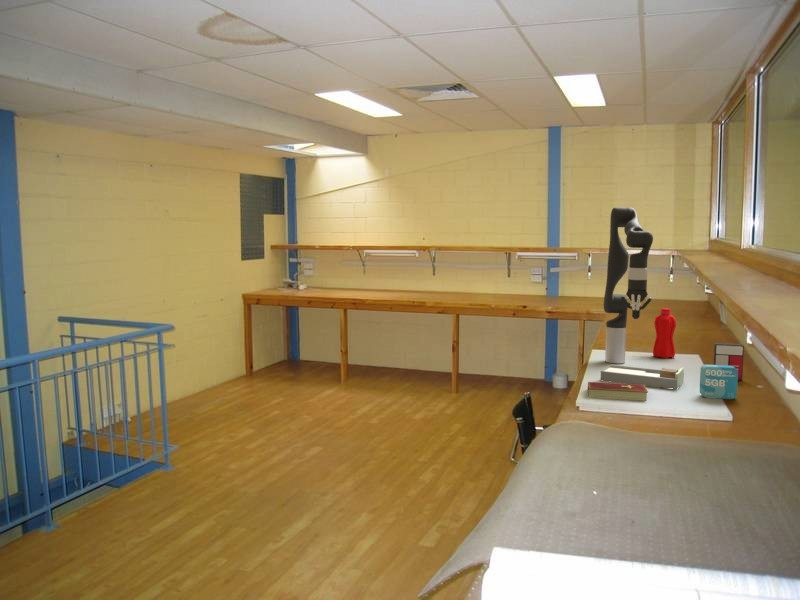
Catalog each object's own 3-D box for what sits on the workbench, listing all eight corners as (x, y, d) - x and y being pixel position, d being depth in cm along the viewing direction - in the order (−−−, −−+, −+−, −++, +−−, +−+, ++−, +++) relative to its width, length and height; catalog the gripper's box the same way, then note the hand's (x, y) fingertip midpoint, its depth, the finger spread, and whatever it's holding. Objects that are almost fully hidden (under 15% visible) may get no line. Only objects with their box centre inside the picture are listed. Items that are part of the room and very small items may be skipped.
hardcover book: (587, 391, 247) (587, 380, 247) (643, 394, 242) (644, 383, 241) (588, 398, 236) (588, 387, 235) (647, 402, 230) (648, 391, 230)
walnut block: (662, 375, 261) (662, 368, 261) (677, 376, 258) (678, 369, 257) (659, 377, 256) (660, 370, 256) (675, 379, 253) (675, 372, 252)
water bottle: (662, 354, 326) (664, 306, 323) (677, 358, 315) (679, 309, 313) (647, 355, 323) (649, 307, 321) (662, 359, 312) (664, 309, 310)
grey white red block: (713, 378, 268) (715, 344, 266) (712, 376, 272) (714, 342, 270) (742, 380, 264) (744, 345, 263) (740, 378, 268) (742, 344, 267)
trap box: (610, 373, 278) (611, 360, 278) (683, 381, 262) (684, 367, 262) (600, 380, 264) (600, 366, 263) (676, 389, 248) (677, 374, 247)
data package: (701, 397, 235) (703, 366, 234) (699, 394, 240) (700, 364, 238) (736, 399, 232) (738, 368, 231) (733, 396, 237) (735, 365, 236)
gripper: (655, 278, 263) (653, 318, 266) (623, 277, 270) (621, 316, 272) (652, 279, 257) (650, 321, 259) (619, 278, 264) (617, 318, 266)
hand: (635, 318), depth 266 cm, fingers closed
